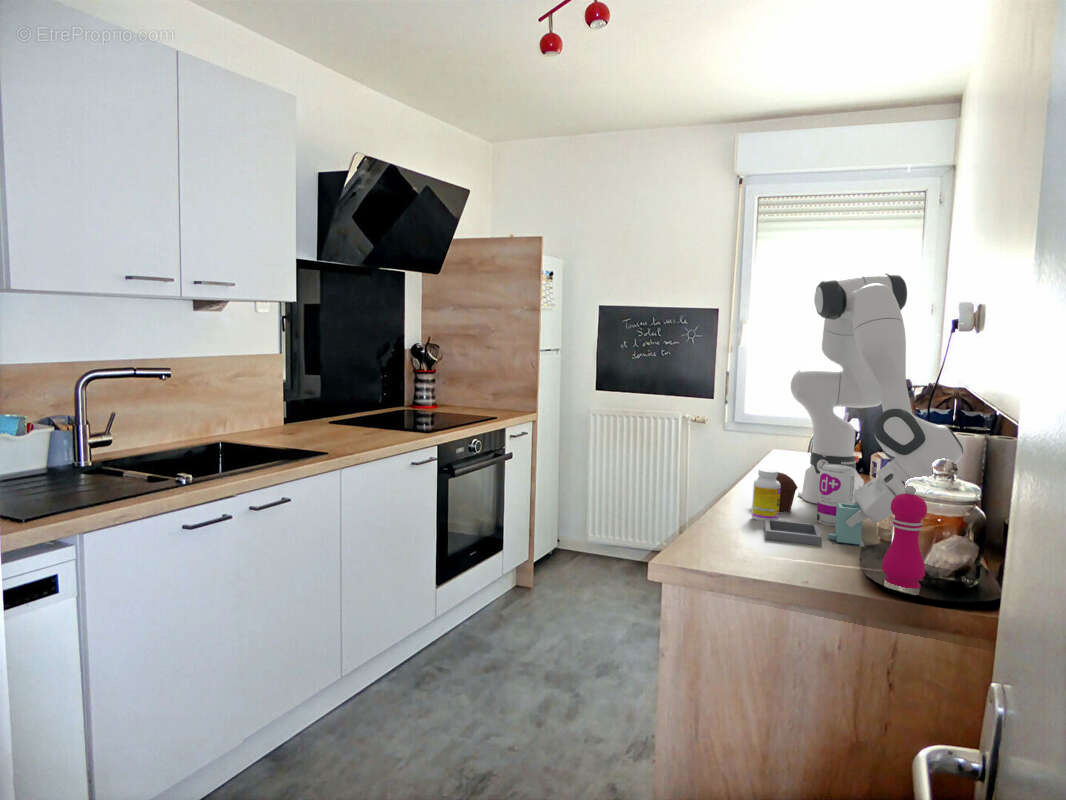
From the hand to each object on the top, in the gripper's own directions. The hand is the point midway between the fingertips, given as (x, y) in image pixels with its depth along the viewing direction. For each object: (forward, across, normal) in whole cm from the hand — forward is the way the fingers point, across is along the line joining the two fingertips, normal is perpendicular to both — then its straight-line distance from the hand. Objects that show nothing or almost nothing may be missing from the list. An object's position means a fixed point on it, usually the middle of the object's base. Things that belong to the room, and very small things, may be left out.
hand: (845, 520), depth 169 cm
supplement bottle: (+16, -15, -8) cm, 23 cm away
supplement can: (+4, -18, +4) cm, 19 cm away
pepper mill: (-1, +32, +8) cm, 33 cm away
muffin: (+14, -30, -6) cm, 33 cm away
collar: (+3, 0, +4) cm, 4 cm away
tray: (+12, +1, -5) cm, 13 cm away
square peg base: (+3, 0, +4) cm, 5 cm away
